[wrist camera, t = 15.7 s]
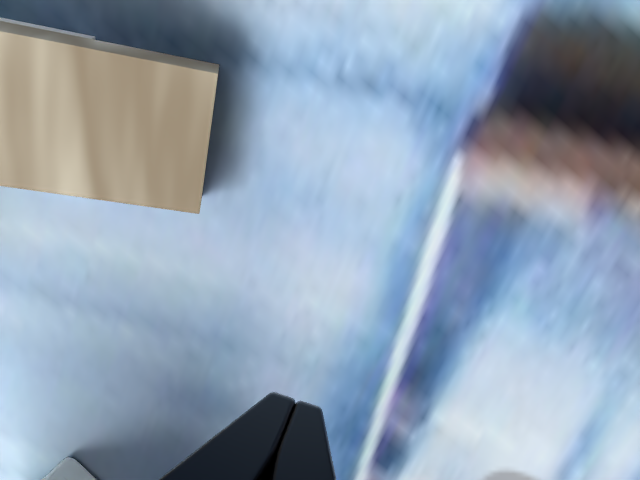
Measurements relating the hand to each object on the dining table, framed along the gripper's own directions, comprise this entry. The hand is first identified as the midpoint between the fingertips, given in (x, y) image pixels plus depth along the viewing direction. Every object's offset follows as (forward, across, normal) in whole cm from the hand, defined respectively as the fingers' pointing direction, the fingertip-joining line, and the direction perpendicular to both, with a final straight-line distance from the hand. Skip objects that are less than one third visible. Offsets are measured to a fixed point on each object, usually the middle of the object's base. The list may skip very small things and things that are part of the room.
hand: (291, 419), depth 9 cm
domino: (+11, +6, 0) cm, 13 cm away
